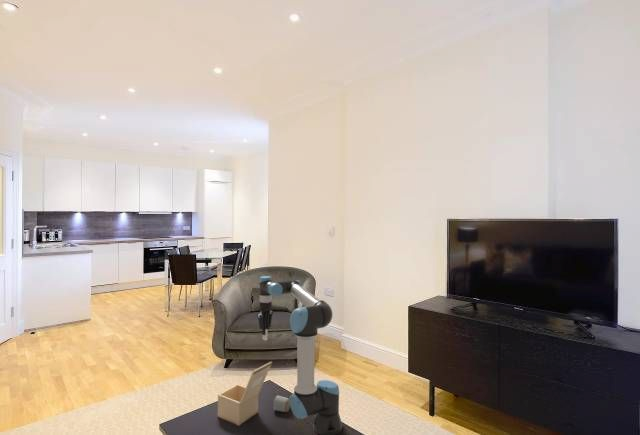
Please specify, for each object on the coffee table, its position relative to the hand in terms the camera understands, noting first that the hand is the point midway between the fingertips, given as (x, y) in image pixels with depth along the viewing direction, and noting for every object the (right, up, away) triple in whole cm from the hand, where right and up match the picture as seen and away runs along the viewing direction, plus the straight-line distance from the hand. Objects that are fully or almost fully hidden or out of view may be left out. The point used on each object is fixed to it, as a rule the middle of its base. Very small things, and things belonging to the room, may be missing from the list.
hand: (265, 339), depth 218 cm
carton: (-12, -34, -22) cm, 42 cm away
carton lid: (-1, -13, -29) cm, 31 cm away
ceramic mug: (+12, -35, -16) cm, 40 cm away
